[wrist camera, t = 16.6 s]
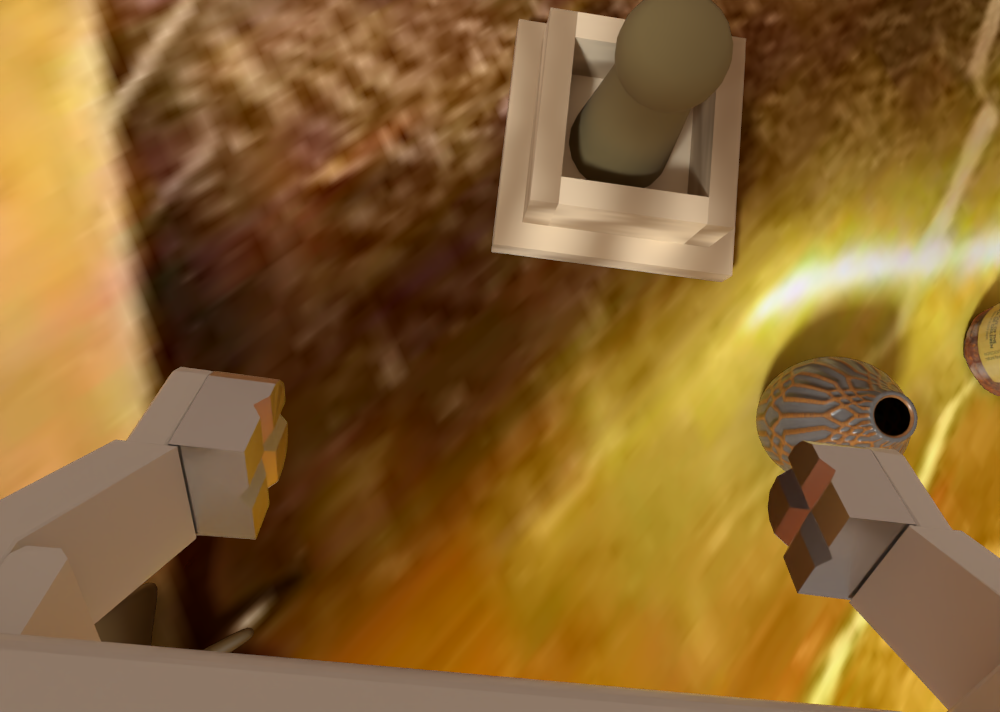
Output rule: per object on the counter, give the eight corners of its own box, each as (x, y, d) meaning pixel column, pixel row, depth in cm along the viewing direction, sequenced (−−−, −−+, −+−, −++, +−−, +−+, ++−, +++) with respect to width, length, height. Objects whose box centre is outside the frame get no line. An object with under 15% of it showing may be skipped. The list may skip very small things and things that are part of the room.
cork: (648, 85, 40) (725, -51, 29) (684, 177, 39) (776, 74, 28) (554, 111, 39) (597, -18, 28) (588, 206, 39) (646, 110, 28)
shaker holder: (491, 251, 39) (498, 223, 34) (516, 34, 41) (526, -22, 36) (721, 281, 40) (760, 258, 35) (734, 68, 42) (773, 17, 37)
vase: (737, 363, 40) (820, 339, 31) (848, 368, 40) (959, 346, 32) (739, 481, 39) (825, 490, 30) (852, 484, 39) (968, 494, 31)
